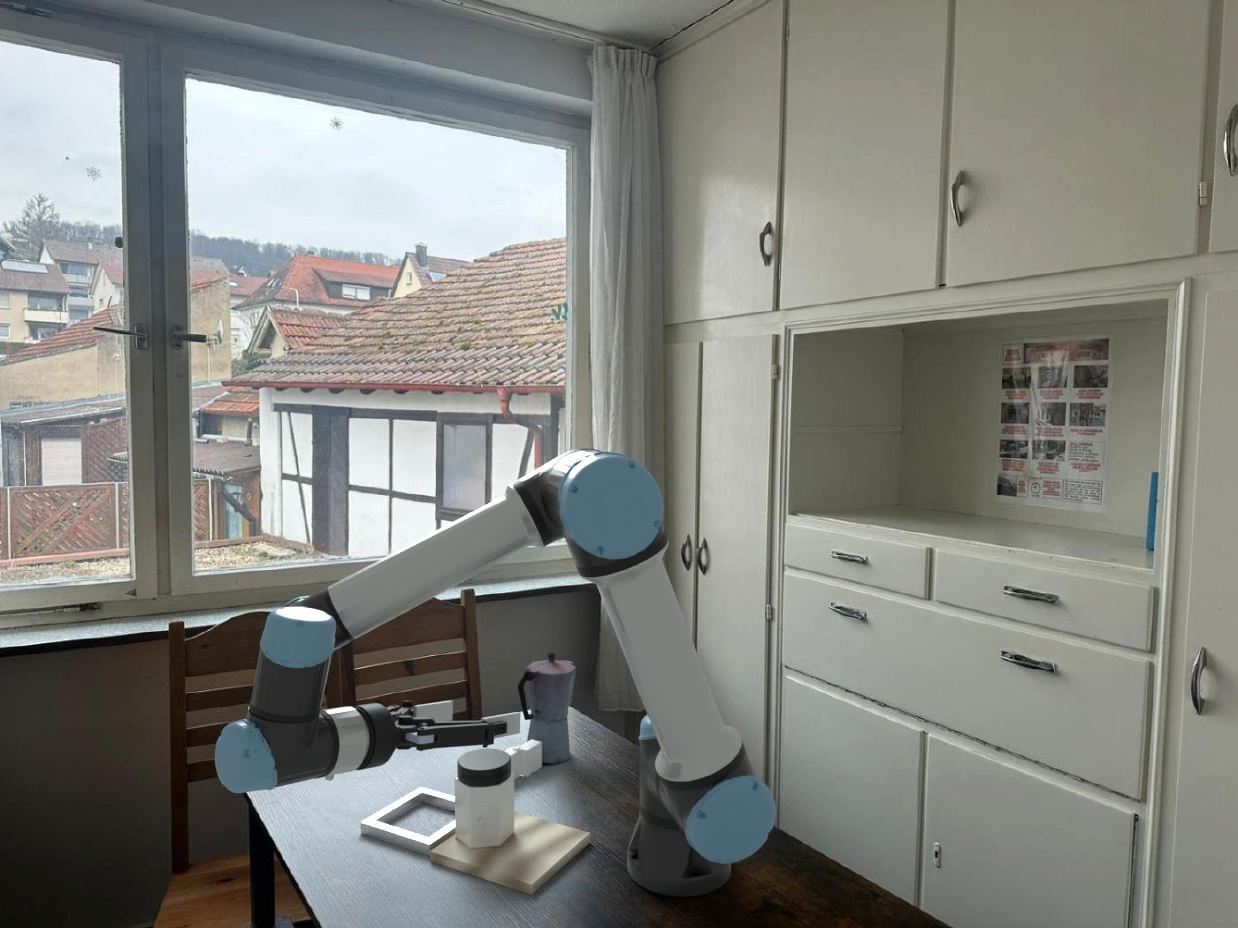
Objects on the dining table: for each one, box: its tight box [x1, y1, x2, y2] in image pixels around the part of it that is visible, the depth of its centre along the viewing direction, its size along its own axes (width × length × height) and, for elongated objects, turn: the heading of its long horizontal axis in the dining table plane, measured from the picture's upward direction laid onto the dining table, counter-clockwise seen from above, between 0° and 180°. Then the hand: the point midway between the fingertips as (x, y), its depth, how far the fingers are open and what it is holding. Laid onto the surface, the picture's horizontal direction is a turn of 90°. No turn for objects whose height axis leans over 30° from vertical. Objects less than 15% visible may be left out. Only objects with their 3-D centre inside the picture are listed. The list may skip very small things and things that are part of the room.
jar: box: [454, 748, 515, 848], centre depth 130 cm, size 9×8×12 cm
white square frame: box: [360, 786, 455, 857], centre depth 137 cm, size 14×14×2 cm
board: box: [429, 810, 591, 896], centre depth 129 cm, size 18×16×2 cm
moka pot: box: [517, 652, 577, 764], centre depth 162 cm, size 10×15×20 cm, turn 148°
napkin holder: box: [503, 739, 543, 780], centre depth 154 cm, size 15×11×6 cm
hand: (483, 716), depth 119 cm, fingers open, 13 cm apart
